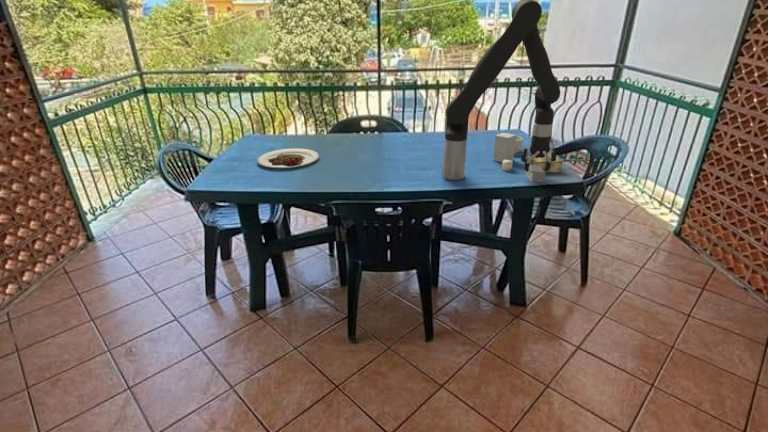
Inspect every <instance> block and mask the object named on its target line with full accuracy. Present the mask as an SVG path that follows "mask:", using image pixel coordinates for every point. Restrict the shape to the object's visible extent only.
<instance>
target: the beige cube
mask: <svg viewBox="0 0 768 432" xmlns="http://www.w3.org/2000/svg"><path fill="white" fill-rule="evenodd" d="M501 163H502V162H501ZM513 163H514V160H503V163H502V165H501V170H502V171H503V172H511V171H512V170H513Z"/></svg>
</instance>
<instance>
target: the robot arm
mask: <svg viewBox="0 0 768 432" xmlns="http://www.w3.org/2000/svg"><path fill="white" fill-rule="evenodd" d="M542 9H543V8H542V6H541V4H540V2H538V1H536V0H519V1H517V2H516V3H515V4H514V6H513V7H512V10H511V18H512V19H511V21H510V23H509V24H508V26H507V28H506V29H505V31H504V32H502V35H500V36H499V38H498V39H497V40H495V42H494V43H492V44H491V45H490V47H489V48H487V50H486V51H485V52H484V53H483V55H482V56H481V58H480V59H479V61H478V62H477V64H476V65H475V67H474V68H473V70H472V72H471V74H470V75H469V78H468V80H467V82H466V83H465V86H464V87H463V88H462V90H461V91H460V93H459V94H458V95H457V96H456V97H455V99H452V100H451V101H450V102H448V104H447V106H446V109H445V111H446V112H445V116H446V119H445V121H446V122H445V132H444V151H443V154H442V171H441V173H442V174H441V175H442V177H443V179H444V180H449V181H460V180H462V179H464V178H465V169H466V157H467V144H468V143H467V142H468V131H469V117H470V114H471V112H472V111H473V109H474V107H475V105H476V104H477V102H478V101H479V99H480V98H481V97H482V96H483V94H484V93H485V92H486V91H487V90H488V89H489V87H490V86H491V85H492V83H494V81H495V80H496V79H497V77H498V76H499V75H500V74H501V72H502V71H503V69H504V67H506V65H507V63H508V62H509V60H510V59H511V58H512V56H513V54H514V53H515V52H516V50H517V49H518V47H519V46H520V44H521V43H522V42H523V46H524V49H525V53H526V57H527V61H528V64H529V67H530V71H531V74H532V78H533V80H534V81H535V82H536V83H538V86H537V87H536V89H535V92H534V108H535V116H534V123H533V127H532V132H531V142H530V147H525V146H523V147H522V150H521V155H520V161H521V162H522V163H524V165H523V169H524V171H525V173H526V172H528V171H529V162H530V161H531V160H533V159H534V158H539V157H540V158H543V157H545V159H546V160H547V162H546V164H545V170H546V171H548V170H549V169H550V164H551V162H553V161H556V156H557V153H558V152H557V151H558V147H556V146H555V145H553V146H552V147H551V140H552V133H553V123H554V116H555V115H554V114H555V112H554V109H553V107H552V106H551V104H554V103H556V102H558V101H559V99H560V96H561V87H560V86H559V83H558V81H557V78H556V77H555V75H554V73H553V71H552V66H551V63H550V62H551V61H550V58H549V55H548V52H547V50H546V47H545V46H544V44H543V40H542V38H541V35H540V31H539V28H538V23H539V22H540V20H541V18H542V12H543V10H542ZM529 152H530V153H529ZM549 152H551V153H550V155H551V158H549V156H548V155H549ZM528 153H529V154H528Z"/></svg>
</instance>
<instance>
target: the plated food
mask: <svg viewBox="0 0 768 432" xmlns="http://www.w3.org/2000/svg"><path fill="white" fill-rule="evenodd" d="M319 157H320V156H319V153H318V152H316V151H315V150H312V149H307V148H283V149H277V150H272V151H269V152H268V151H267V152H266V153H264V154H262V155H260V156H259V157H258V158H257V160H256V161H257V163H258V164H259V165H261V166H262V167H266V168H272V169H273V168H274V169H291V168H292V169H294V168H297V167H303V166H306V165H309V164H312V163H315V162H316V161H317V160H318V159H319Z"/></svg>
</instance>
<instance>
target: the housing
mask: <svg viewBox="0 0 768 432" xmlns="http://www.w3.org/2000/svg"><path fill="white" fill-rule="evenodd" d="M525 175H526V176H527V177H528V179H529V180H530V182H535V183H538V182H539V183H541V182H542V183H544V182H545V176H546V172H544V171H543V170H542V168H541V167H540V166H539V165H529V171H528V172H526V171H525Z"/></svg>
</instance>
